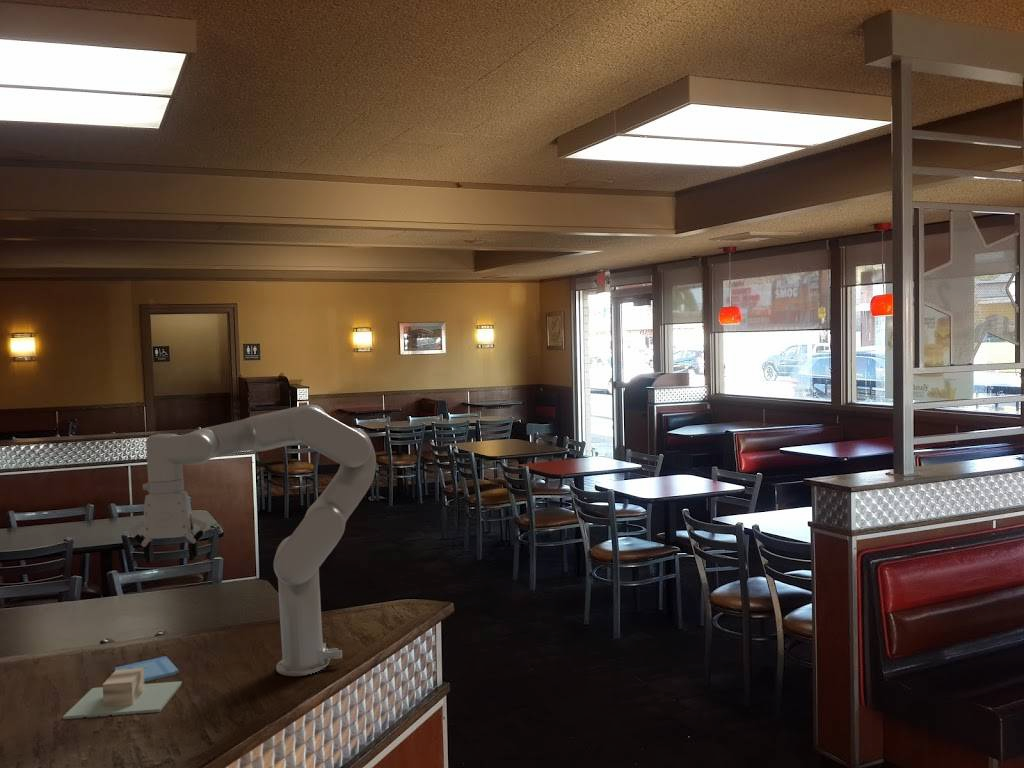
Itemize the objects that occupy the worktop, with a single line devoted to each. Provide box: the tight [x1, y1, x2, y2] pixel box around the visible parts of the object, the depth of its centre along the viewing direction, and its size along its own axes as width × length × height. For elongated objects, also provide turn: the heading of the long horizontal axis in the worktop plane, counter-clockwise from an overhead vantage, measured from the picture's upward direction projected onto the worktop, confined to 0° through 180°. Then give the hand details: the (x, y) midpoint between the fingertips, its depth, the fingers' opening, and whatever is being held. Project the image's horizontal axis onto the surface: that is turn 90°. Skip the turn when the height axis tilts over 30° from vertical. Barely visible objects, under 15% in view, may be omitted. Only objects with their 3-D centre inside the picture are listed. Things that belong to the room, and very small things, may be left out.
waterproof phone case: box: [114, 655, 180, 683], centre depth 217 cm, size 14×12×1 cm
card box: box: [102, 668, 146, 707], centre depth 199 cm, size 9×6×5 cm, turn 7°
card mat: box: [62, 680, 183, 720], centre depth 199 cm, size 20×16×1 cm
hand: (171, 560), depth 209 cm, fingers open, 9 cm apart
